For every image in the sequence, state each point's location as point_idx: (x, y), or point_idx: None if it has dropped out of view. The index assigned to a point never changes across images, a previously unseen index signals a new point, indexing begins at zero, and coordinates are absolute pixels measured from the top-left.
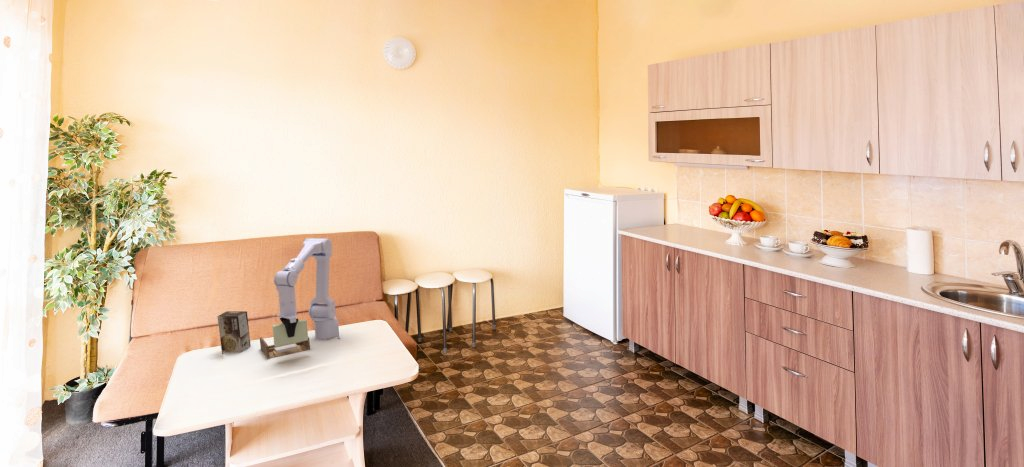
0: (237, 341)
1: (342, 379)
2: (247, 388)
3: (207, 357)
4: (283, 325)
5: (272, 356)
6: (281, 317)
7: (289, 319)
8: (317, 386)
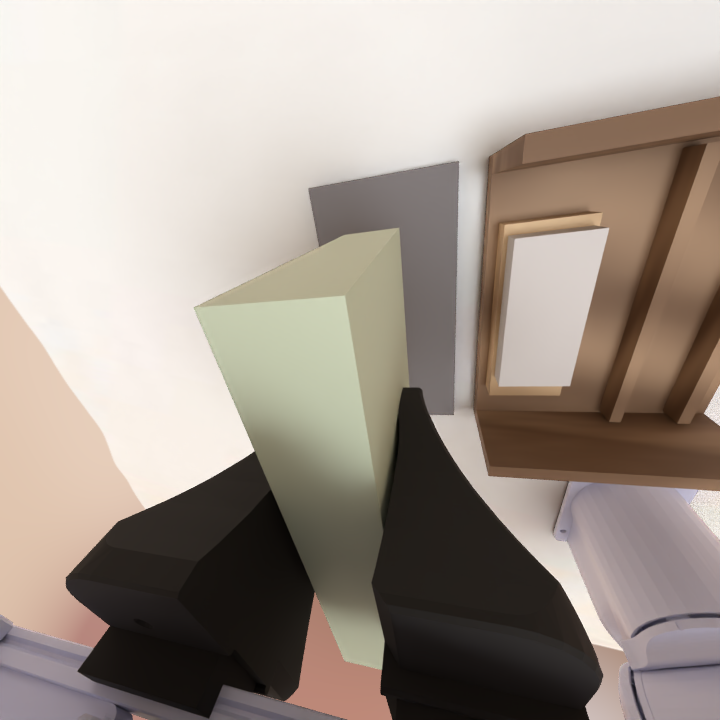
0: None
1: (137, 419)
2: None
3: None
4: (280, 476)
5: (526, 200)
6: (593, 686)
7: (87, 676)
8: (87, 347)
